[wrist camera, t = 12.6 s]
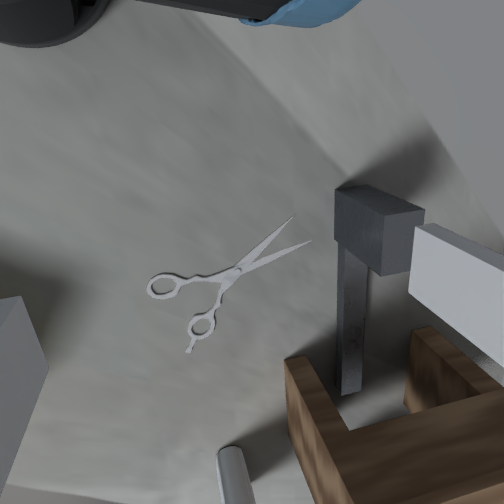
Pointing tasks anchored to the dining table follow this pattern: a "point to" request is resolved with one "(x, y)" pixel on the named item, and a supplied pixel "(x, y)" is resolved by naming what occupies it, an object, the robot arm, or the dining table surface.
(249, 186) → the dining table surface
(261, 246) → the scissors
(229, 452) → the photo printer
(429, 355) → the cabinet
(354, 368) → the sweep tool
